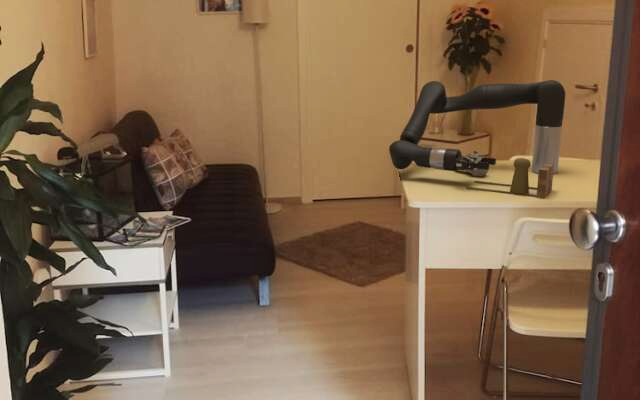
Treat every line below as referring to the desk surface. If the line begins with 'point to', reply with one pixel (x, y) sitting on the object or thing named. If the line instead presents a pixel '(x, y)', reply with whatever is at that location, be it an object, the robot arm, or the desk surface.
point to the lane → (542, 188)
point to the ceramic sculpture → (478, 171)
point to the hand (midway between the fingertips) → (492, 164)
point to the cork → (520, 176)
